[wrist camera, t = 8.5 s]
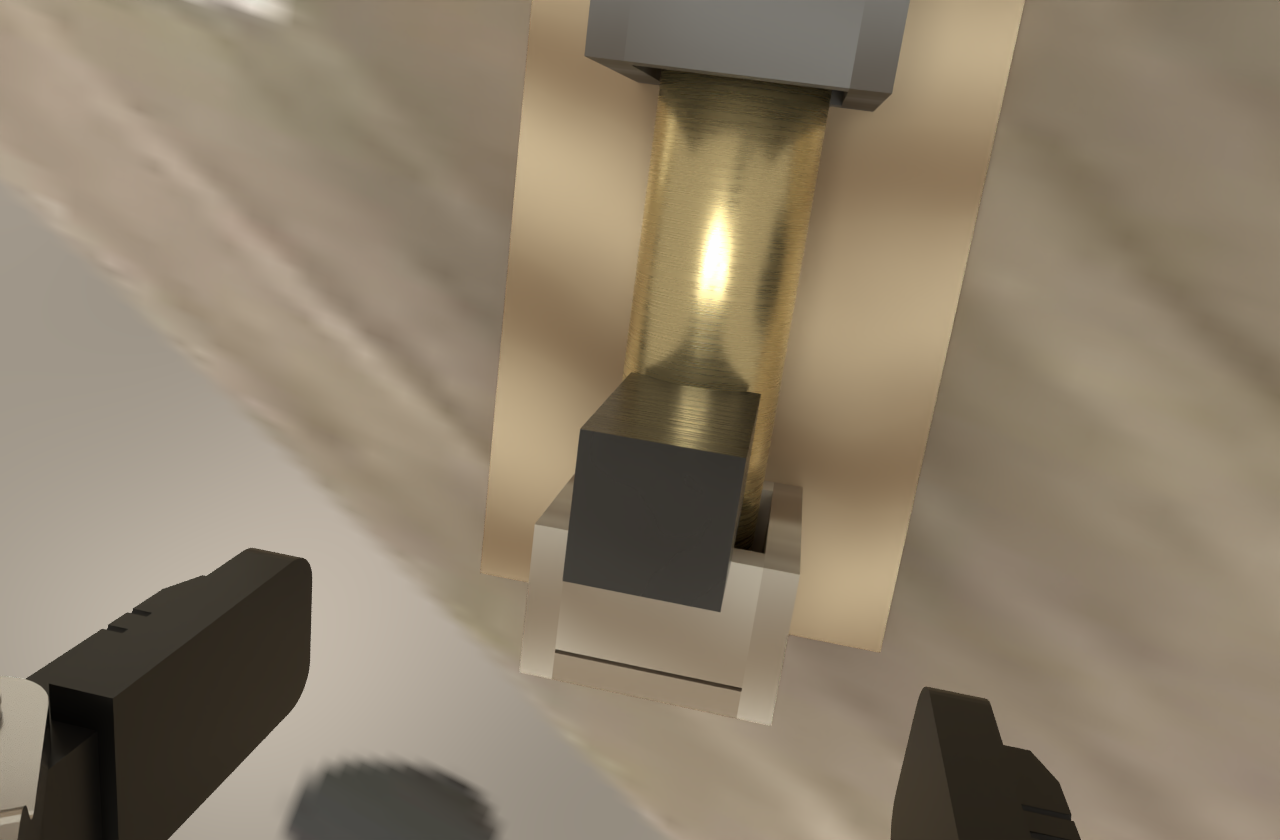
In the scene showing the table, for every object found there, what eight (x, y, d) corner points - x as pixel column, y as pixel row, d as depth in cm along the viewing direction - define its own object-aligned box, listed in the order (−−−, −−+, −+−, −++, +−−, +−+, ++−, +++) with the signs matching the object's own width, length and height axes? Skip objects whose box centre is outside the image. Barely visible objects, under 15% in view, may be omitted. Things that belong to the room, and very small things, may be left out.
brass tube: (697, -96, 22) (631, -246, 14) (861, -80, 22) (889, -225, 14) (610, 568, 27) (524, 737, 19) (743, 594, 26) (713, 779, 18)
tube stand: (593, -540, 22) (497, -845, 15) (1132, -520, 21) (1286, -851, 14) (490, 559, 30) (398, 672, 23) (877, 636, 28) (898, 780, 22)
